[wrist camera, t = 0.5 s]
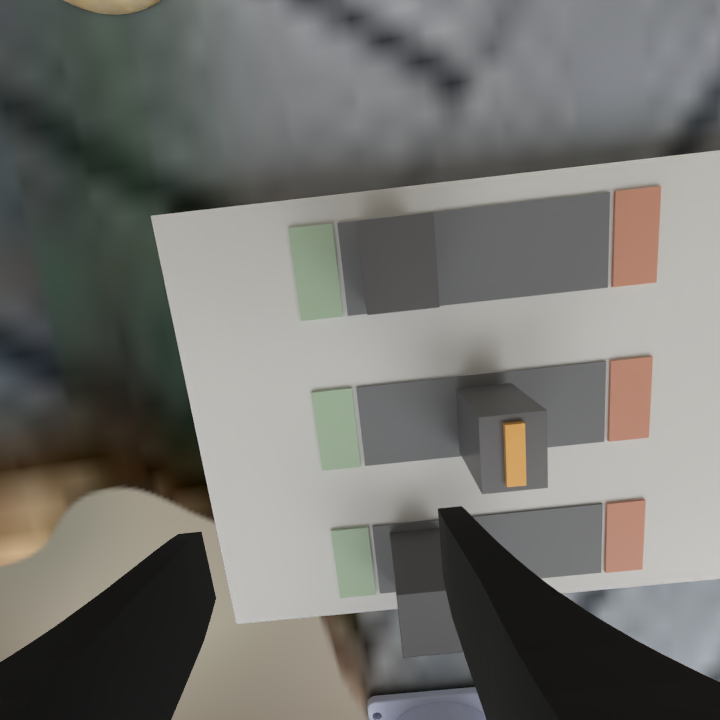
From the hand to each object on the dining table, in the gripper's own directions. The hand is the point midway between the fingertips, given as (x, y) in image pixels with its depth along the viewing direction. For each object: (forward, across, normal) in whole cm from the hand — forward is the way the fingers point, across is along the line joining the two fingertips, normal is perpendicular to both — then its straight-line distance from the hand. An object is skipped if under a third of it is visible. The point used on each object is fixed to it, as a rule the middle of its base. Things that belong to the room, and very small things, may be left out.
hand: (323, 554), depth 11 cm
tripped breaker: (+8, -6, 0) cm, 10 cm away
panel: (+10, -6, 0) cm, 12 cm away
